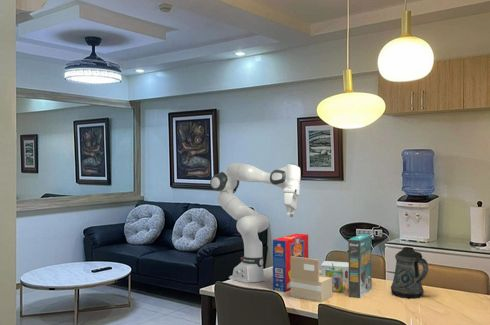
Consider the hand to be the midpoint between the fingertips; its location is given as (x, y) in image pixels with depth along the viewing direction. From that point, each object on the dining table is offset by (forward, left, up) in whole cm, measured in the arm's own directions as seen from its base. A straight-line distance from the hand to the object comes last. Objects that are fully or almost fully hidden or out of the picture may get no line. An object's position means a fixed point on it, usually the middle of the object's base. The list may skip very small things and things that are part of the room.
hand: (289, 216), depth 271 cm
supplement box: (+11, +35, -41) cm, 55 cm away
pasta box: (-2, +4, -41) cm, 41 cm away
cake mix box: (+36, +13, -41) cm, 56 cm away
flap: (+18, -16, -30) cm, 39 cm away
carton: (+18, -9, -40) cm, 45 cm away
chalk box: (+22, +10, -41) cm, 47 cm away
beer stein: (+59, +24, -41) cm, 76 cm away
